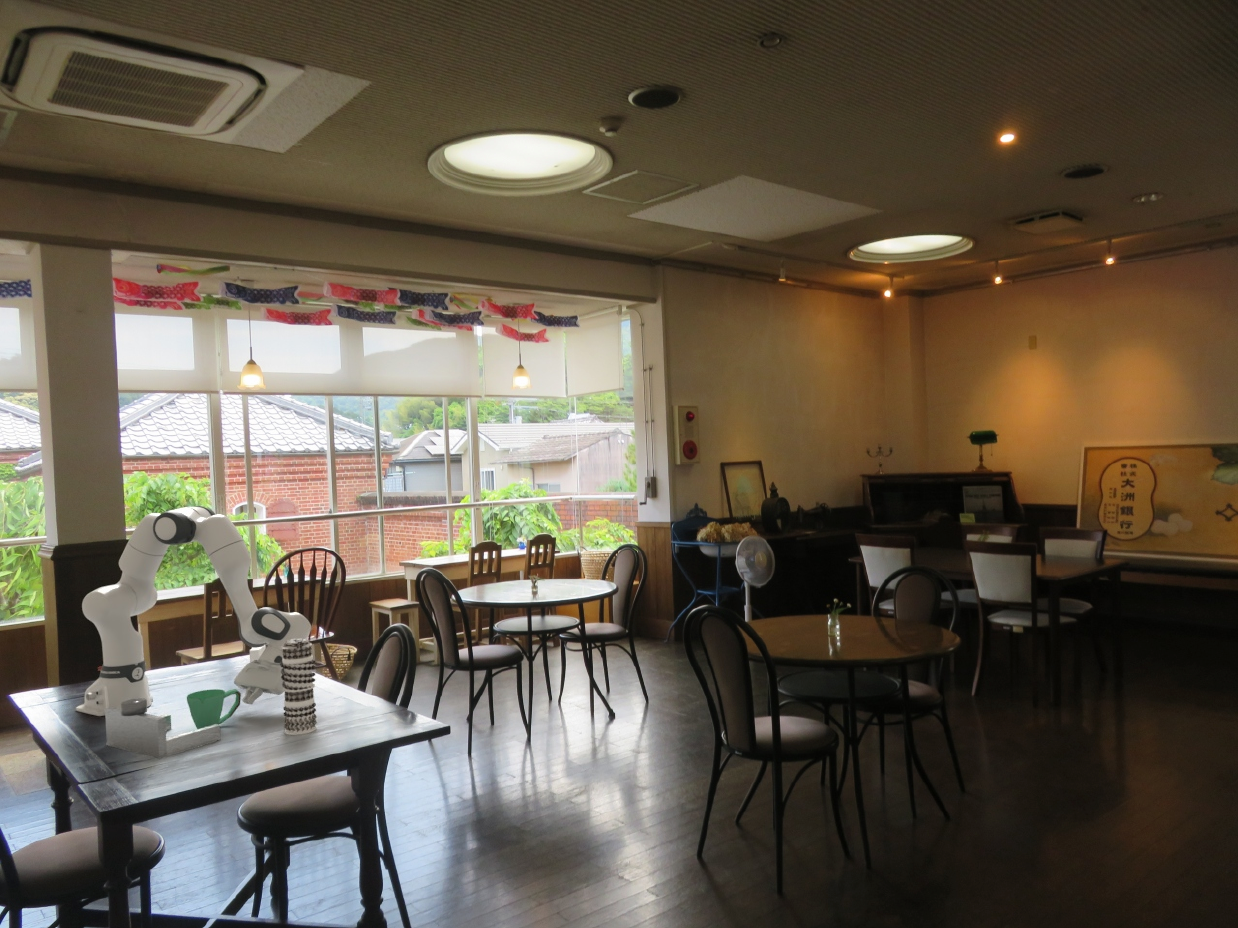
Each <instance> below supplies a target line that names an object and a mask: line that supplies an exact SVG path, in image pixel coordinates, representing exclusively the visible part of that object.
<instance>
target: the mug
mask: <svg viewBox="0 0 1238 928" xmlns="http://www.w3.org/2000/svg"><path fill="white" fill-rule="evenodd" d="M231 695H235V701H234V703H233V705H232V706H231V707H230V710H229V711H228V712H227V713H226V714H225V715H223V716H222V712H223V706H224V702H225V698H228V697H229V696H231ZM241 697H242V693H241V692H240V691H239V690H238V689H237V688H235V689H230V690H227V691H225V690H223V689H218V688H216V689H204V690H203V689H202V690H199V691H195V692H192V693H191V692H190V693H189V694H187V696H186V702H187V705H188V708H189V713H190V716H191V718H192V720H193V723H194V726H195V727H196V730H197V729H200V728H204V727H207V726H210V725H214V724H217V725H221V724H222V723H224V722H226V721H227V720H228V719H230V718H231V717H232V716H233V715H234V713H235V712H236V710H237V709H238V708H239V707H240V705H241V700H242V699H241ZM221 716H222V717H221Z"/></svg>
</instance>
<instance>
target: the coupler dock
mask: <svg viewBox="0 0 1238 928" xmlns="http://www.w3.org/2000/svg"><path fill="white" fill-rule="evenodd" d="M147 712H148V707H147V699H144V698H139V699H131V700H127V701H124V702H122V703H121V708H117V707H109V708H105V715H104V716H105V732H106V735H105V736H106V746H107V745H108V746H107V747H112V748H115V749H120V750H123V751H127V752H131V753H136V754H139V755H143V756H146V757H151V758H155V759H158V760H160V759H163V758H166V757H170V756H173V755H176V754H180V753H182V752H186V751H188V750H192V749H195V748H198V746H199V747H202V746H205V745H208V744H211V742H212V743H214V741H215V742H217V740H218V741H220V740H221V727H220V725H221V724H219V725H217V724H214V725H210V726H207V727H204V728H200V729H197V728H196V729H193V730H191V731H188V732H183V733H180V734H177V735H174V736H171V737H167V731H169V730H172V716H171V715H172V714H168V713H165V714H162V715H154V714H150V713H147ZM207 743H208V744H207ZM201 745H202V746H201Z"/></svg>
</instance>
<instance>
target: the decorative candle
mask: <svg viewBox="0 0 1238 928" xmlns="http://www.w3.org/2000/svg"><path fill="white" fill-rule="evenodd" d="M312 645H313V643H312V642H310V641H309V639H308V638H307V639H303V638H299V639H291V640H288V641H286V643H285V644H284V646H282V647H281V648H283V658H282V661H281V663H280V665H281V667H283V668H282V669H281V673H282V676H281V678H282V680H284V681H283V683H282V686H283V691H284V700H283V701H284V703H283V704H284V706H283V708H282V709H283V711H284V712H283V716H284V719H283V722H284V725H283V729H284V734H286V735H290V736H292V735H293V736H299V735H305V734H309V733H312V732H314V731H316V730H317V723H318V722H317V714H315V712H317V709H316V708H315V707H316V706H317V704H316V702H315V696H314V688H315V687H316V685H315V683H314V682H315V681H316V678H314V676H316V672H315V673H314V672H313V670H314V669H316V666H315V665H314V664H315V663H316V660H315V659H314V658H313V657H314V656H313V654H312ZM283 664H284V665H283Z"/></svg>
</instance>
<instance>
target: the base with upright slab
mask: <svg viewBox="0 0 1238 928" xmlns="http://www.w3.org/2000/svg"><path fill="white" fill-rule="evenodd" d="M266 647H267V644H266V645H264V646H262V647H258V648H253V647H251V649H249V663H250V662H253V661H254V660H258V659H259V658H260V656H261V655H262V653H263V652H264V650H265V649H266ZM245 666H246V665H244V667H245ZM244 667H243V668H244Z"/></svg>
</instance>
